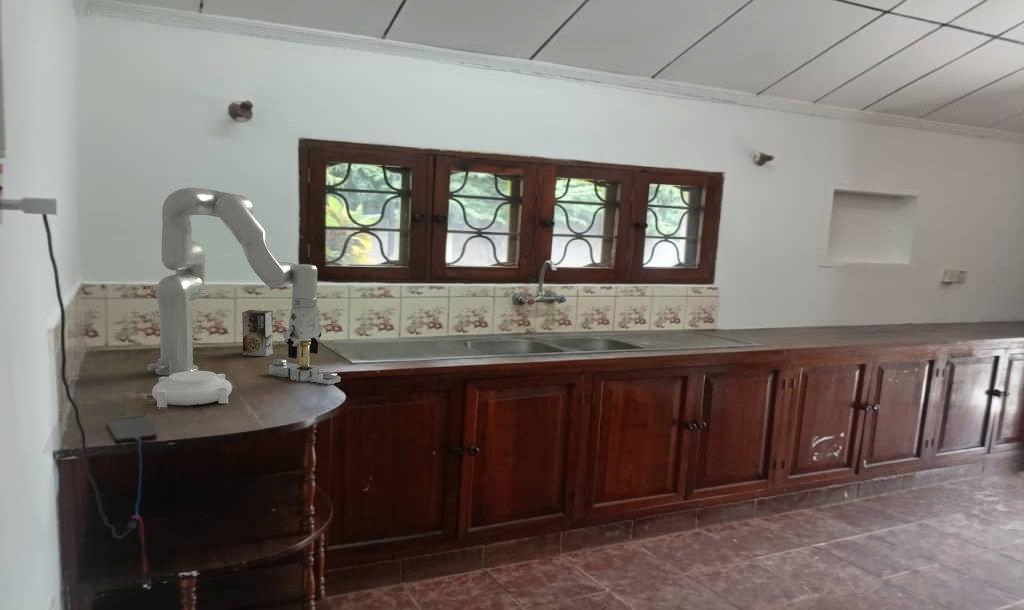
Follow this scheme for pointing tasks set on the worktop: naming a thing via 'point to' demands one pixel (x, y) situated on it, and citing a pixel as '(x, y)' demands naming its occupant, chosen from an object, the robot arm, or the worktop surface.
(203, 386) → the round stand with pegs
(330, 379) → the link
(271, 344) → the coffee box
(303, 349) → the pin
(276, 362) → the link
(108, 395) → the worktop surface
